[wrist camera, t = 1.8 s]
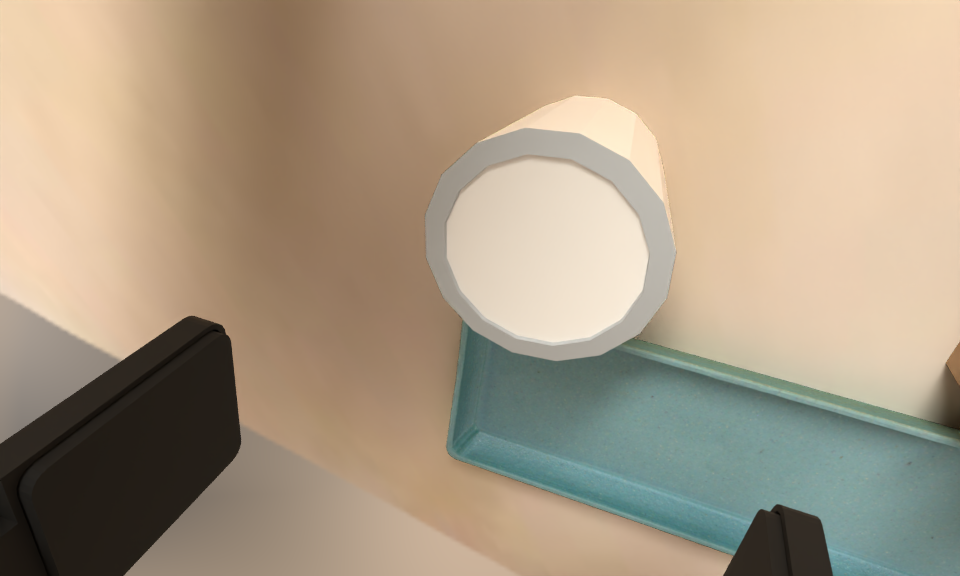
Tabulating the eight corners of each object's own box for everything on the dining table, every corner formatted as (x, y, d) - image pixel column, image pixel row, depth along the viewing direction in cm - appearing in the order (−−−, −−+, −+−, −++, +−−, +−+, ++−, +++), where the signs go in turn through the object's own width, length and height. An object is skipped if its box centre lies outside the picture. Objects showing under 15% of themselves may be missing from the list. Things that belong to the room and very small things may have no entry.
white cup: (684, 258, 22) (678, 368, 16) (506, 261, 25) (447, 359, 19) (680, 63, 19) (672, 114, 13) (478, 88, 22) (397, 141, 16)
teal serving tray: (458, 429, 31) (440, 464, 29) (480, 275, 26) (461, 303, 24) (1039, 618, 26) (1069, 677, 23) (1201, 469, 21) (1256, 527, 19)
